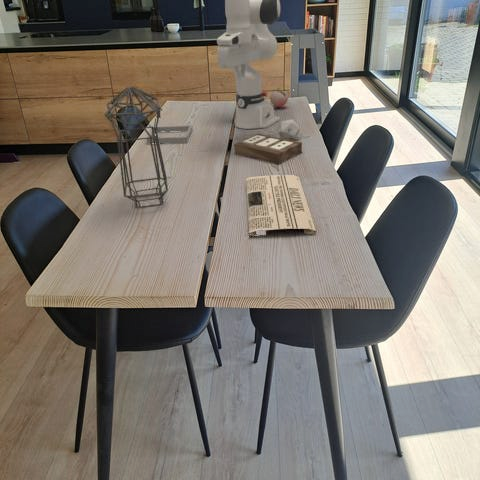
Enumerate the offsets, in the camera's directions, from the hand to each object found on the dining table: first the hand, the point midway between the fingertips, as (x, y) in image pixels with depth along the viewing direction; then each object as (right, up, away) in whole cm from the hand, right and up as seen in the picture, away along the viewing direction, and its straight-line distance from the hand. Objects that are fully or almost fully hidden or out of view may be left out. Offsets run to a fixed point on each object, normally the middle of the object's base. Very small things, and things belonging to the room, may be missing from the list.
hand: (241, 77), depth 169 cm
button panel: (+10, -27, +7) cm, 30 cm away
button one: (+10, -26, +6) cm, 28 cm away
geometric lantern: (-29, -48, -25) cm, 62 cm away
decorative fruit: (+19, +7, +64) cm, 67 cm away
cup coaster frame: (-31, -16, +30) cm, 46 cm away
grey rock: (+20, -19, +20) cm, 34 cm away
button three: (+5, -24, +10) cm, 26 cm away
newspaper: (+12, -51, -32) cm, 61 cm away
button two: (+15, -28, +2) cm, 32 cm away
